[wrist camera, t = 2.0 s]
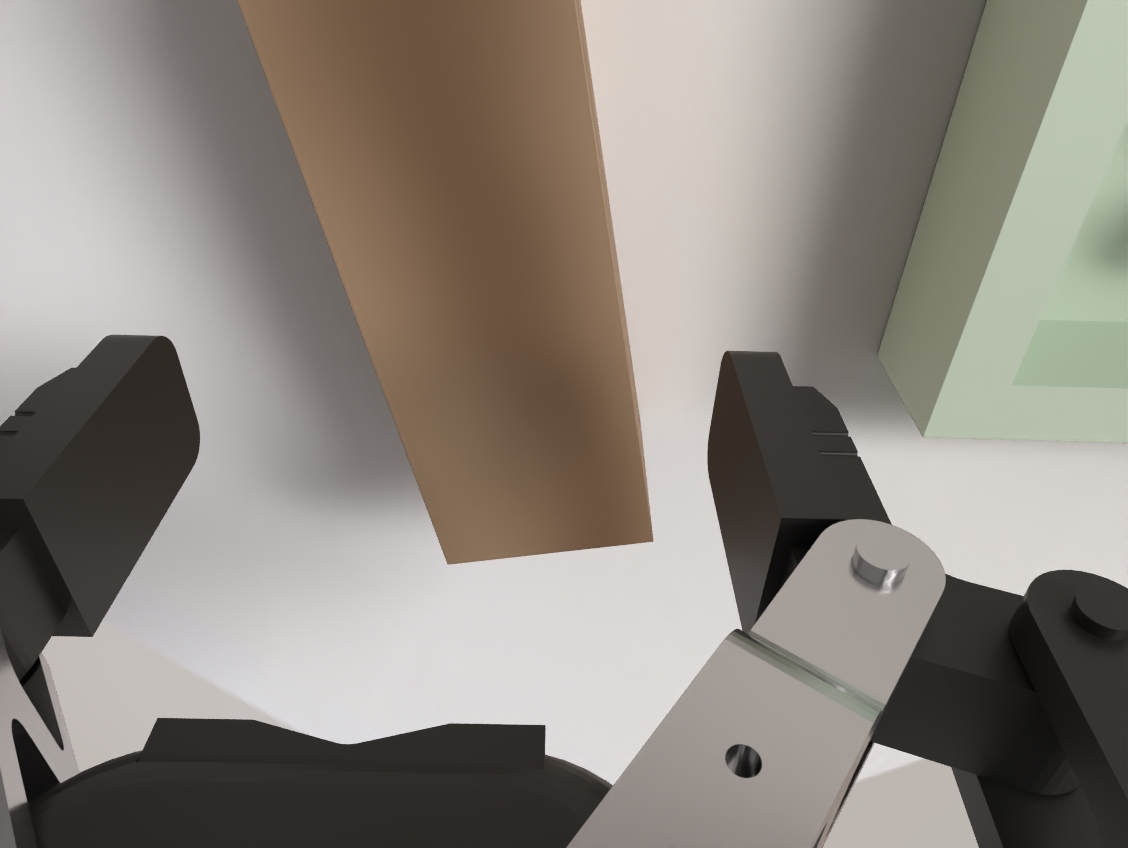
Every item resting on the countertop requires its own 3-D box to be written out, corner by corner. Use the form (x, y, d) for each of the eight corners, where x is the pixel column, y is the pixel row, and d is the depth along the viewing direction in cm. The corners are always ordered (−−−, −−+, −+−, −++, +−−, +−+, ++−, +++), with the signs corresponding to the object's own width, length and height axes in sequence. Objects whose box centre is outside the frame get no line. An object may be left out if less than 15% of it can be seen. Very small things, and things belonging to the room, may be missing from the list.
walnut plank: (469, 437, 23) (447, 564, 19) (271, -205, 15) (157, -215, 11) (639, 415, 23) (653, 541, 19) (542, -267, 14) (529, -302, 10)
